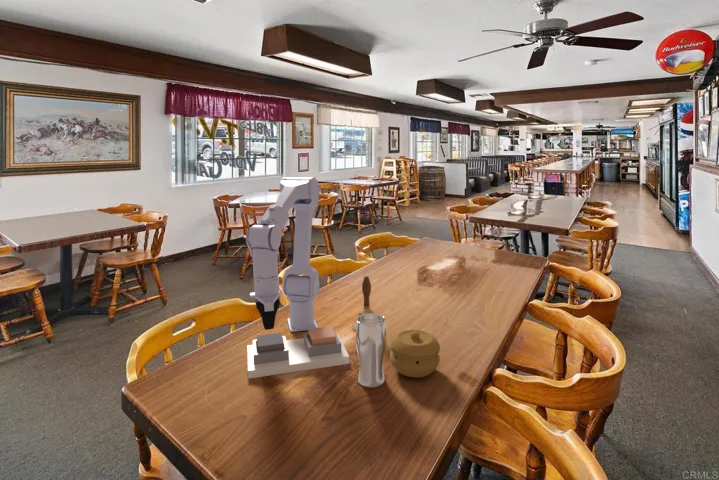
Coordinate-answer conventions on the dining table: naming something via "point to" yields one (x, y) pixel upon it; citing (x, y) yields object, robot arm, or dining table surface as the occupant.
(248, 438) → the dining table surface
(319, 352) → the button panel
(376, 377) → the beer glass
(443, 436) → the dining table surface
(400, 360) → the pot
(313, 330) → the terracotta key
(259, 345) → the charcoal key
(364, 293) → the hand bell
